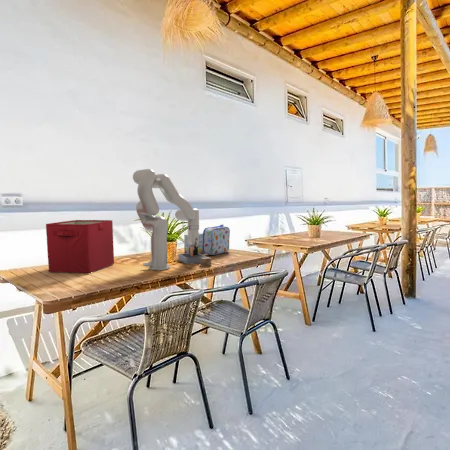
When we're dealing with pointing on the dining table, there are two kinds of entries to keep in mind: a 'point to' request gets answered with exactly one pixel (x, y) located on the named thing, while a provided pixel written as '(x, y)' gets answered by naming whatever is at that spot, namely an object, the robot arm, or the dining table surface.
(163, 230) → the robot arm
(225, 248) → the lunch box
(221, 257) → the dining table surface
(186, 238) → the snack box
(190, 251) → the terracotta cylinder
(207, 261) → the walnut cube
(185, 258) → the tote
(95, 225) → the storage cube
